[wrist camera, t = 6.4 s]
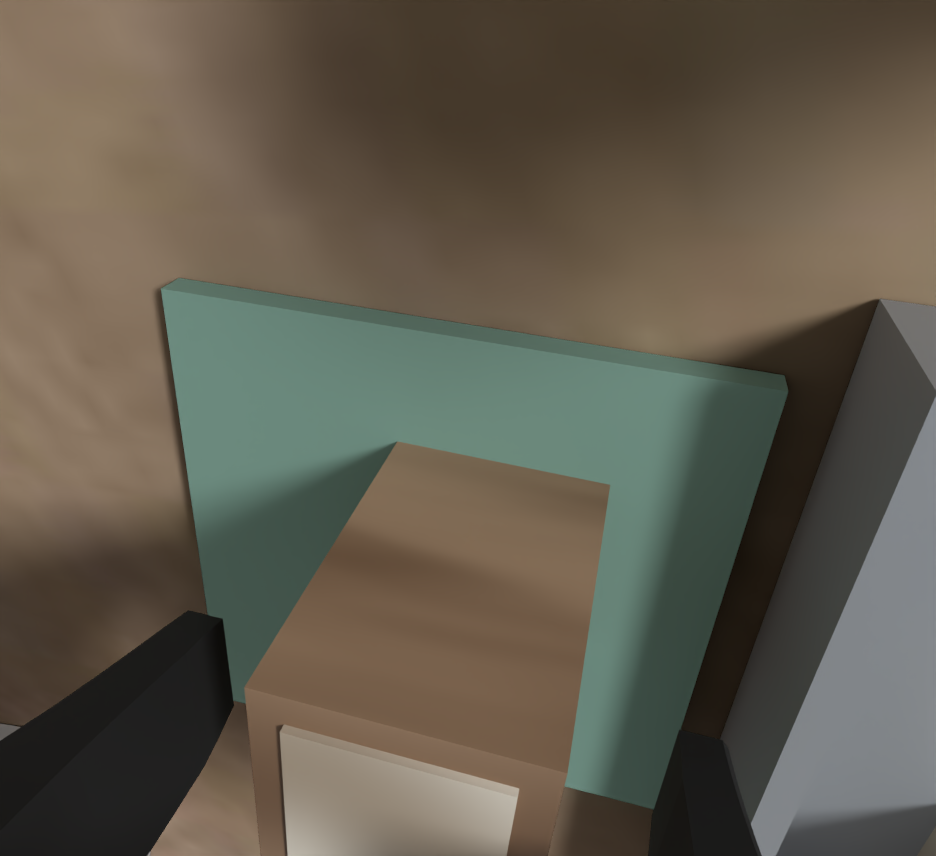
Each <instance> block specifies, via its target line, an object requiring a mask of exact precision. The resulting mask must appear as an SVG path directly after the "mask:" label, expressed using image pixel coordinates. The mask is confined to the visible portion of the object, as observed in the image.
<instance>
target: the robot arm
mask: <svg viewBox="0 0 936 856" xmlns="http://www.w3.org/2000/svg"><path fill="white" fill-rule="evenodd" d="M233 706H234V702H233V694H232V686H231V678H230V671H229V663H228V655H227V647H226V639H225V632H224V624H223V619H222V618H218V617H213V616H209V615H205V614H201V613H197V612H193V611H187V612H186V613H184V614H183V615H181V616H180V617H178V618H177V619H175V620H174V621H173V622H171V623H170V624H168V625H167V626H166V627H164V628H163V629H161V630H160V631H159V632H157V633H156V634H155V635H153V636H152V637H150V638H149V639H148V640H146V641H145V642H143V643H142V644H141V645H139V646H138V647H137V648H135V649H134V650H132V651H131V652H130V653H128V654H127V655H126V656H124V657H123V658H121V659H120V660H119V661H117V662H116V663H114V664H113V665H112V666H110V667H109V668H108V669H106V670H105V671H103V672H102V673H100V674H99V675H98V676H96V677H95V678H93V679H92V680H90V681H89V682H88V683H86V684H85V685H83V686H82V687H80V688H79V689H77V690H76V691H75V692H73V693H72V694H70V695H69V696H67V697H66V698H65V699H63V700H62V701H60V702H59V703H57V704H56V705H54V706H53V707H51V708H50V709H48V710H47V711H45V712H44V713H42V714H41V715H39V716H38V717H36V718H34V719H33V720H31V721H30V722H28V723H27V724H25V725H24V726H22V727H20V728H19V729H17V730H16V731H14V732H13V733H11V734H10V735H8V736H6V737H5V738H3V739H2V740H0V856H148V854H149V852H150V851H151V849H152V848H153V846H154V845H155V843H156V842H157V840H158V838H159V837H160V835H161V834H162V832H163V831H164V829H165V828H166V826H167V824H168V823H169V821H170V820H171V818H172V817H173V815H174V814H175V812H176V810H177V809H178V807H179V806H180V804H181V803H182V801H183V799H184V798H185V796H186V795H187V793H188V791H189V790H190V788H191V787H192V785H193V784H194V782H195V780H196V779H197V777H198V776H199V774H200V772H201V771H202V769H203V767H204V766H205V764H206V762H207V760H208V758H209V756H210V754H211V752H212V750H213V748H214V746H215V744H216V742H217V740H218V738H219V736H220V734H221V732H222V729H223V727H224V725H225V723H226V721H227V719H228V717H229V715H230V712H231V710H232V708H233ZM648 856H762V855H761V852H760V849H759V847H758V844H757V841H756V838H755V835H754V832H753V829H752V826H751V823H750V820H749V817H748V814H747V811H746V808H745V805H744V802H743V799H742V796H741V792H740V789H739V786H738V782H737V779H736V775H735V772H734V768H733V764H732V761H731V757H730V753H729V749H728V747H727V745H726V744H725V743H724V741H723V740H720V739H715V738H711V737H707V736H703V735H699V734H695V733H691V732H687V731H683V730H679V732H678V735H677V738H676V741H675V744H674V747H673V751H672V754H671V757H670V760H669V763H668V766H667V769H666V773H665V776H664V779H663V782H662V785H661V788H660V792H659V795H658V798H657V801H656V804H655V807H654V810H653V814H652V821H651V832H650V843H649V854H648Z"/></svg>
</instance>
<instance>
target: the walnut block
mask: <svg viewBox="0 0 936 856" xmlns="http://www.w3.org/2000/svg"><path fill="white" fill-rule="evenodd" d="M609 490H610V485H609V484H604V483H599V482H594V481H589V480H584V479H579V478H574V477H569V476H565V475H560V474H555V473H550V472H545V471H540V470H535V469H530V468H525V467H521V466H516V465H511V464H506V463H501V462H496V461H491V460H486V459H481V458H476V457H472V456H467V455H462V454H457V453H452V452H447V451H442V450H437V449H432V448H427V447H423V446H418V445H413V444H408V443H403V442H398V441H397V443H396V445H395V446H394V448H393V449H392V451H391V453H390V454H389V456H388V457H387V459H386V461H385V462H384V464H383V465H382V467H381V469H380V470H379V472H378V473H377V475H376V477H375V478H374V480H373V482H372V483H371V485H370V486H369V488H368V490H367V491H366V493H365V494H364V496H363V498H362V499H361V501H360V502H359V504H358V506H357V507H356V509H355V510H354V512H353V514H352V515H351V517H350V518H349V520H348V522H347V523H346V525H345V526H344V528H343V530H342V531H341V533H340V534H339V536H338V538H337V539H336V541H335V543H334V544H333V546H332V547H331V549H330V551H329V552H328V554H327V555H326V557H325V559H324V560H323V562H322V563H321V565H320V567H319V568H318V570H317V571H316V573H315V575H314V576H313V578H312V579H311V581H310V583H309V584H308V586H307V587H306V589H305V591H304V592H303V594H302V595H301V597H300V599H299V600H298V602H297V604H296V605H295V607H294V608H293V610H292V612H291V613H290V615H289V616H288V618H287V620H286V621H285V623H284V624H283V626H282V628H281V629H280V631H279V632H278V634H277V636H276V637H275V639H274V640H273V642H272V644H271V645H270V647H269V648H268V650H267V652H266V653H265V655H264V656H263V658H262V660H261V661H260V663H259V665H258V666H257V668H256V669H255V671H254V673H253V674H252V676H251V677H250V679H249V681H248V682H247V684H246V685H245V687H244V689H245V700H246V710H247V720H248V731H249V741H250V751H251V761H252V772H253V782H254V792H255V803H256V813H257V823H258V833H259V844H260V854H261V856H548V852H549V848H550V844H551V840H552V836H553V832H554V827H555V823H556V819H557V815H558V811H559V807H560V803H561V798H562V794H563V790H564V786H565V782H566V778H567V774H568V767H569V760H570V753H571V747H572V740H573V733H574V726H575V720H576V713H577V706H578V699H579V693H580V686H581V679H582V672H583V666H584V659H585V652H586V645H587V639H588V632H589V625H590V618H591V612H592V605H593V598H594V591H595V585H596V578H597V571H598V564H599V558H600V551H601V544H602V537H603V531H604V524H605V517H606V510H607V504H608V497H609Z"/></svg>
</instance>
